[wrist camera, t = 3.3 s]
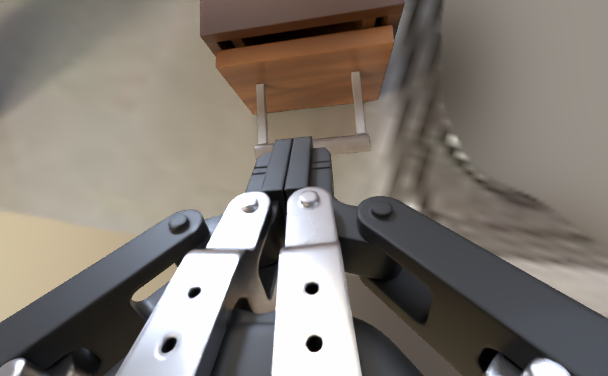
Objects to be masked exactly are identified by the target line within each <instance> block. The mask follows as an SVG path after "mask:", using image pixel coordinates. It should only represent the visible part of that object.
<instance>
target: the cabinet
mask: <svg viewBox="0 0 608 376" xmlns="http://www.w3.org/2000/svg"><path fill="white" fill-rule="evenodd" d="M404 4H405V3H404V0H200V36H201V38H202V39H203V40H204V42H205V43H206V44H207V45H208V47H209V48H210V50H211V51H212V52H213V54H214V55H215V56H216V51H220V50H227V49H234V48H235V46H234V45H233V43H232V41H231V40H234V39H241V38H247V37H254V36H260V35H267V34H273V33H280V32H286V31H293V30H299V29H306V28H313V27H319V26H326V25H332V24H339V23H345V22H352V21H358V20H365V19H371V18H376V24H375V27H381V26H388V25H392V27H393V35H394V39H395V36H396V32H397V29H398V25H399V22H400V18H401V14H402V11H403V8H404Z"/></svg>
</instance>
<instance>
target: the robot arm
mask: <svg viewBox="0 0 608 376" xmlns="http://www.w3.org/2000/svg"><path fill="white" fill-rule="evenodd" d="M173 263H175V264H176V265H177V267H178V269H177V271H176V273H175V274H174V276H173V278H172V279H171V280H170V281H169V282H168V283H166V284H165V285H164V286H162V287H161V288H160V289H159V290H157V291H156V292H155V293H154V294H152V295H151V296H149V297H148V298H147V299H145V300H143V301H139V302H136V301H133V300H131V298H132V296H133V294H134V293H135V292H136V291H137V290H138V289H140V288H141V287H142V286H144V285H145V284H146V283H148V282H149V281H150V280H152V279H153V278H155V277H156V276H157V275H159V274H160V273H161V272H163V271H164V270H165V269H167V268H168V267H169V266H171V265H172V264H173ZM345 272H348V273H352V274H356V275H359V277H360V279H361V281H362V282H363V283H364V284H365V285H366V286H367V287H368V288H369V289H370V290H371V291H372V292H373V293H374V294H375V295H376V296H378V297H379V298H380V299H381V300H382V301H383V302H384V303H385V304H386V305H387V306H388V307H389V308H390V309H391V310H393V311H394V312H395V313H396V314H397V315H398V316H399V317H400V318H401V319H402V320H403V321H404V322H405V323H407V324H408V325H409V326H410V327H411V328H412V329H413V330H414V331H415V332H416V333H417V334H418V335H419V336H421V337H422V338H423V339H424V340H425V341H426V342H427V343H428V344H429V345H430V346H431V347H432V348H434V349H435V350H436V351H437V352H438V353H439V354H440V355H441V356H442V357H443V358H444V359H445V360H446V361H447V362H449V363H450V364H451V365H452V366H453V367H454V368H455V369H456V370H457V371H458V372H459V373H460V374H462V375H463V376H608V319H607V318H606V317H604V316H602V315H600V314H599V313H597V312H595V311H593V310H591V309H590V308H588V307H586V306H584V305H583V304H581V303H579V302H577V301H576V300H574V299H572V298H570V297H568V296H567V295H565V294H563V293H561V292H560V291H558V290H556V289H554V288H552V287H551V286H549V285H547V284H545V283H544V282H542V281H540V280H538V279H537V278H535V277H533V276H531V275H529V274H528V273H526V272H524V271H522V270H521V269H519V268H517V267H515V266H513V265H512V264H510V263H508V262H506V261H505V260H503V259H501V258H499V257H498V256H496V255H494V254H492V253H490V252H489V251H487V250H485V249H483V248H482V247H480V246H478V245H476V244H474V243H473V242H471V241H469V240H467V239H466V238H464V237H462V236H460V235H459V234H457V233H455V232H453V231H451V230H450V229H448V228H446V227H444V226H443V225H441V224H439V223H437V222H435V221H434V220H432V219H430V218H428V217H427V216H425V215H423V214H421V213H420V212H418V211H416V210H414V209H412V208H411V207H409V206H407V205H405V204H404V203H402V202H400V201H398V200H396V199H394V198H391V197H385V196H376V197H371V198H368V199H366V200H364V201H362V202H361V203H360V204H359V205H358V207H357V206H351V205H347V204H344V203H341V202H340V201H338V200H337V199H336V198H335V197H334V187H333V175H332V164H331V154H330V152H329V151H328V150H327V149H326V148H325V147H319V148H313V141H312V137H301V138H294V139H293V138H292V139H282V140H275V142H274V146H273V149H272V152H269V153H264V154H263V155H262V156H261V157H260V158H258V159H257V161H256V164H255V167H254V169H253V172H252V175H251V178H250V180H249V183H248V186H247V189H246V191H245V193H244V194H241V195H239V196H237V197H236V198H235V199H233V200H232V201H231V202H230V204H229V205H228V207H227V209H226V211H225V213H224V214H222V215H219V216H216V217H212V218H209V219H205V220H204V218H203V216H202V214H201V213H200V212H199V211H196V210H184V211H180V212H177V213H175V214H173V215H171V216H169V217H168V218H166V219H165V220H163V221H161V222H160V223H158V224H157V225H155V226H153V227H152V228H150V229H149V230H147V231H145V232H144V233H142V234H141V235H139V236H137V237H136V238H134V239H133V240H131V241H130V242H128V243H126V244H125V245H123V246H122V247H120V248H118V249H117V250H115V251H114V252H112V253H110V254H109V255H107V256H106V257H104V258H102V259H101V260H99V261H98V262H96V263H95V264H93V265H91V266H90V267H88V268H87V269H85V270H83V271H82V272H80V273H79V274H77V275H75V276H74V277H72V278H71V279H69V280H68V281H66V282H64V283H63V284H61V285H60V286H58V287H56V288H55V289H53V290H52V291H50V292H48V293H47V294H45V295H44V296H42V297H40V298H39V299H38V300H36V301H34V302H32V303H31V304H29V305H28V306H26V307H25V308H23V309H21V310H20V311H18V312H17V313H15V314H13V315H12V316H10V317H9V318H7V319H5V320H4V321H2V322H1V323H0V376H423V375H422V373H421V372H420V371H419V370H418V369H417V368H416V367H415V366H414V365H413V364H412V362H410V360H409V359H408V358H407V357H406V356H405V355H404V354H403V353H402V352H401V351H400V349H399V348H398V347H397V346H396V345H395V344H394V343H393V342H392V341H391V340H390V339H389V338H388V337H387V336H385V335H384V334H383V333H382V332H381V331H379V330H378V329H377V328H375V327H374V326H372V325H370V324H368V323H367V322H365V321H363V320H360V319H357V318H355V317H352V313H351V306H350V300H349V294H348V288H347V282H346V276H345ZM275 306H276V310H275Z"/></svg>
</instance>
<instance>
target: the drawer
mask: <svg viewBox="0 0 608 376" xmlns="http://www.w3.org/2000/svg"><path fill="white" fill-rule="evenodd" d="M375 24H376V18H371V19H365V20H358V21H352V22H345V23H339V24H332V25H326V26H319V27H313V28H306V29H299V30H293V31H286V32H280V33H273V34H267V35H260V36H254V37H247V38H241V39H234V40H231V41H232V43H233V45H234V46H235V48H234V49H227V50H220V51H216V68H217V69H218V71H219V72H220V73H221V74H222V76H223V77H224V78H225V79H226V81H227V82H228V83H229V85H230V86H231V87H232V88H233V90H234V91H235V92H236V93H237V95H238V96H239V97H240V98H241V100H242V101H243V102H244V103H245V105H246V106H247V107H248V108H249V110H250V111H251V112H252V114H257V120H258V144H259V145H256V146H255V157H256V160H257V159H258V158H260V157H261V156H262V155H263V154H264V153H269V152H272V149H273V146H274V143H273V144H268V127H267V113H270V112H279V111H287V110H296V109H305V108H313V107H322V106H330V105H339V104H347V103H354V113H355V123H356V134H357V135H351V136H341V137H331V138H322V139H312V141H313V148H319V147H325V148H326V149H327V150H328V151H329V152H330V154H331V155H335V154H346V153H357V152H367V151H370V136H369V134H366V129H365V119H364V109H363V102H364V101H373V100H378V98H379V94H380V91H381V87H382V84H383V80H384V77H385V73H386V69H387V66H388V62H389V59H390V55H391V52H392V48H393V45H394V35H393V27H392V25H388V26H381V27H375Z"/></svg>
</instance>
